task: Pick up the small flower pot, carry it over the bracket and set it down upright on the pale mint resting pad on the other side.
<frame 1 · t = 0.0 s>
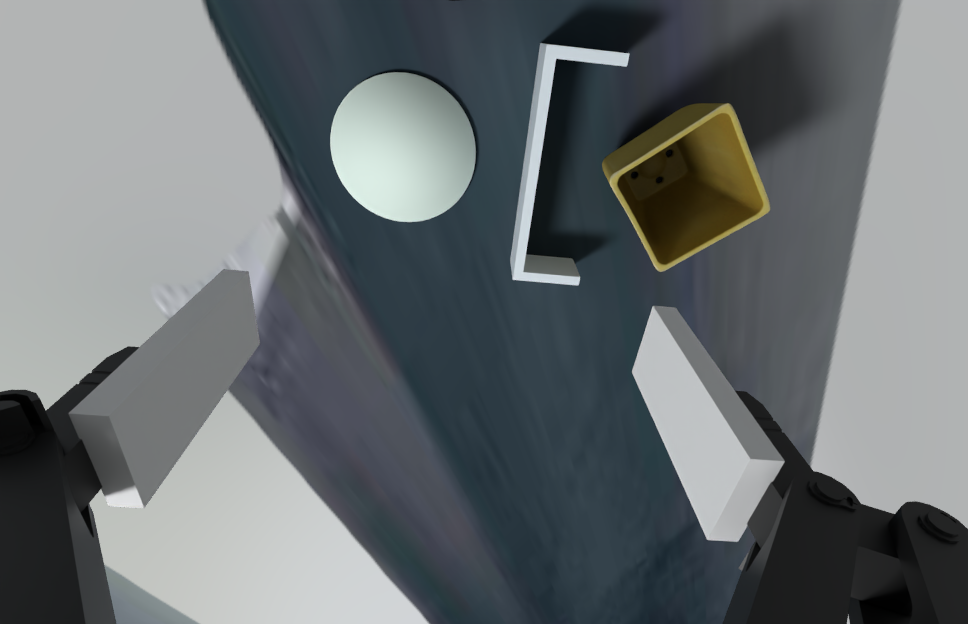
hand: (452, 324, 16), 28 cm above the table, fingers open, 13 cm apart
pad: (404, 152, 40), on the table
flower pot: (651, 163, 41), on the table
bracket: (528, 164, 41), on the table
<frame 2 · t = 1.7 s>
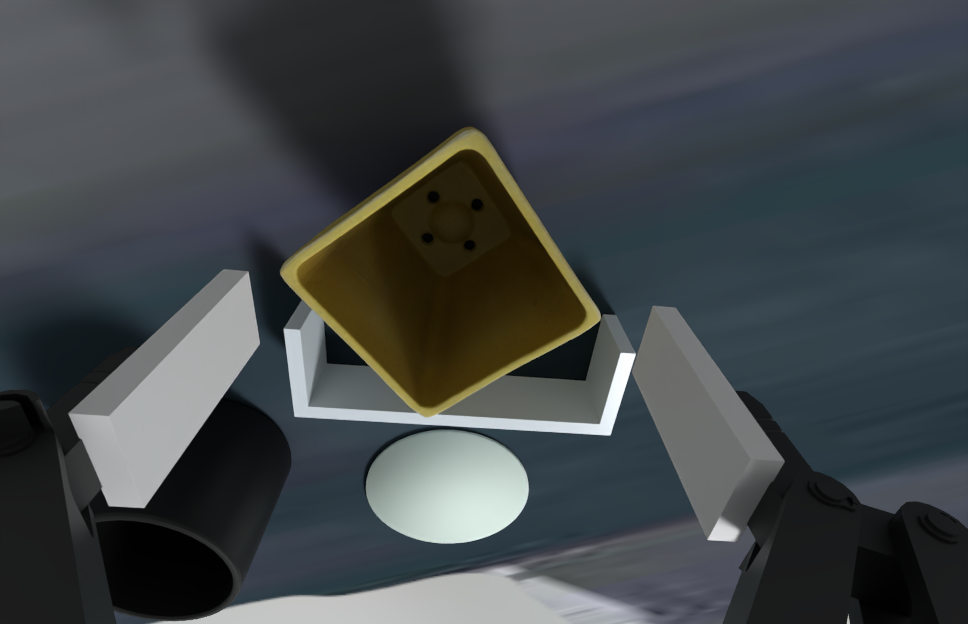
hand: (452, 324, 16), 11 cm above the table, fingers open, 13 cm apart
mug: (206, 444, 33), on the table
pad: (447, 489, 36), on the table
flower pot: (454, 216, 26), on the table
bracket: (458, 377, 31), on the table
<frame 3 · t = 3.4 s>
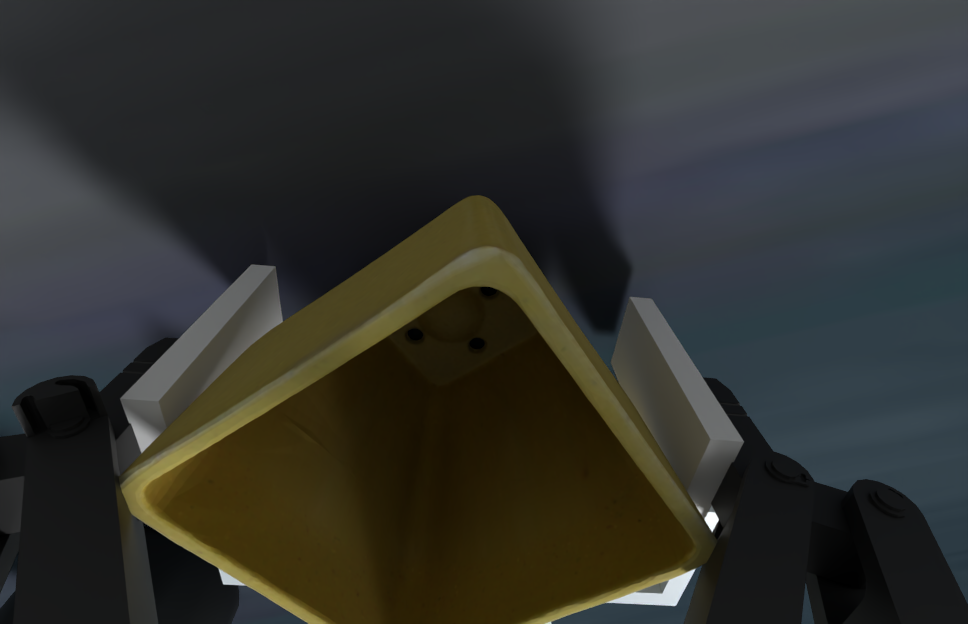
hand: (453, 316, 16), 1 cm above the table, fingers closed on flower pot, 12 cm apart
mug: (127, 575, 25), on the table
flower pot: (454, 302, 17), on the table, touching gripper
bracket: (459, 503, 22), on the table
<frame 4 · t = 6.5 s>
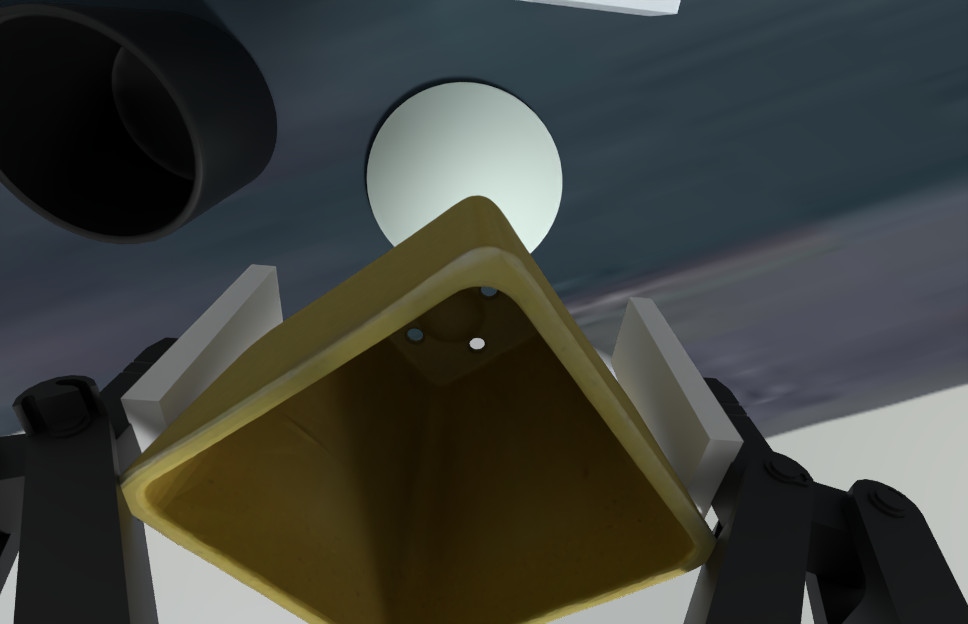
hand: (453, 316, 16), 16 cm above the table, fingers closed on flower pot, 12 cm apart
mug: (174, 106, 28), on the table
pad: (465, 188, 30), on the table
flower pot: (454, 302, 17), point 15 cm above the table, touching gripper
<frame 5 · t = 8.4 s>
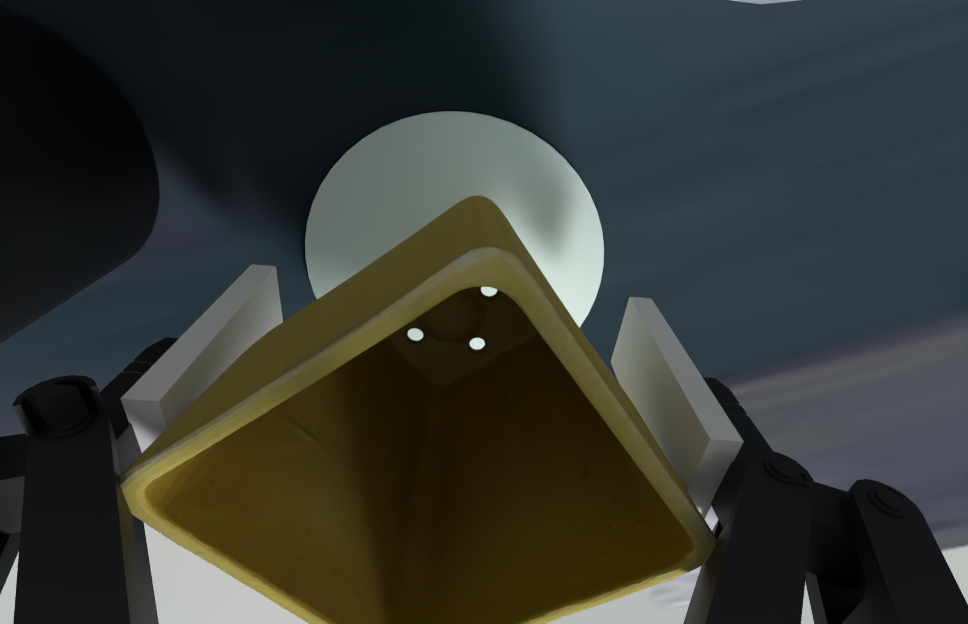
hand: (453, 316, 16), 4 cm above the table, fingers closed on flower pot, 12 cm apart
pad: (455, 267, 20), on the table
flower pot: (454, 302, 17), point 3 cm above the table, touching gripper
when the fingers open (2 cm above the table, at t = 9.8 s): flower pot drops 1 cm, resting on pad.
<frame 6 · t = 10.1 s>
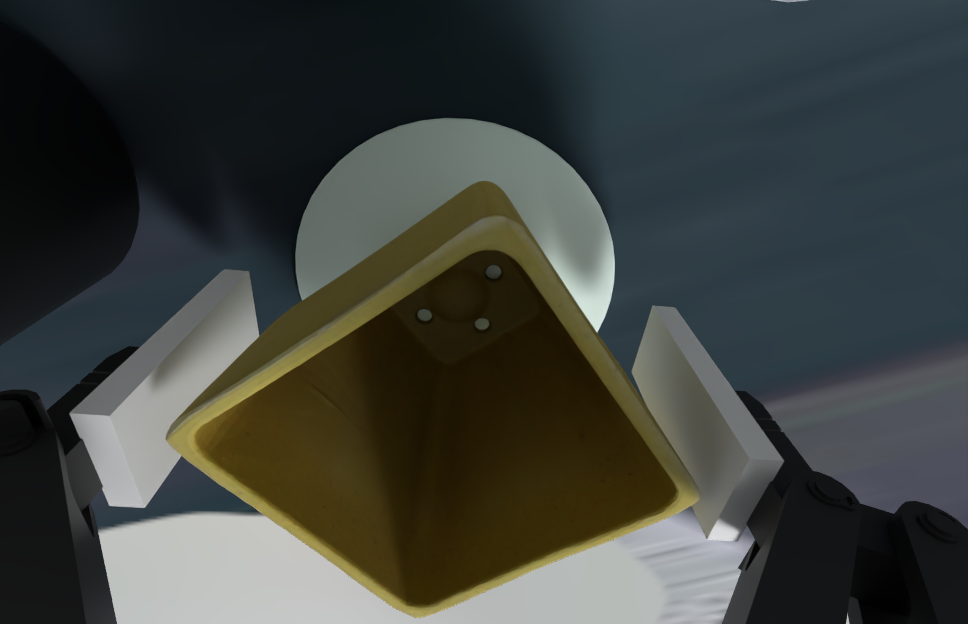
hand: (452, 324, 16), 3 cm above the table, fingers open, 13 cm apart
pad: (456, 283, 19), on the table
flower pot: (461, 285, 19), resting on pad
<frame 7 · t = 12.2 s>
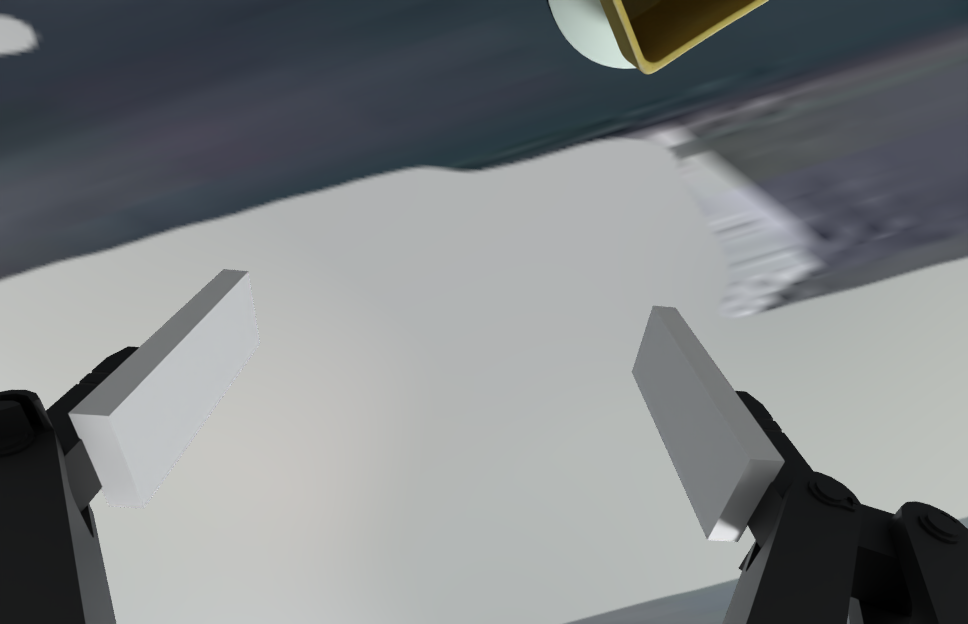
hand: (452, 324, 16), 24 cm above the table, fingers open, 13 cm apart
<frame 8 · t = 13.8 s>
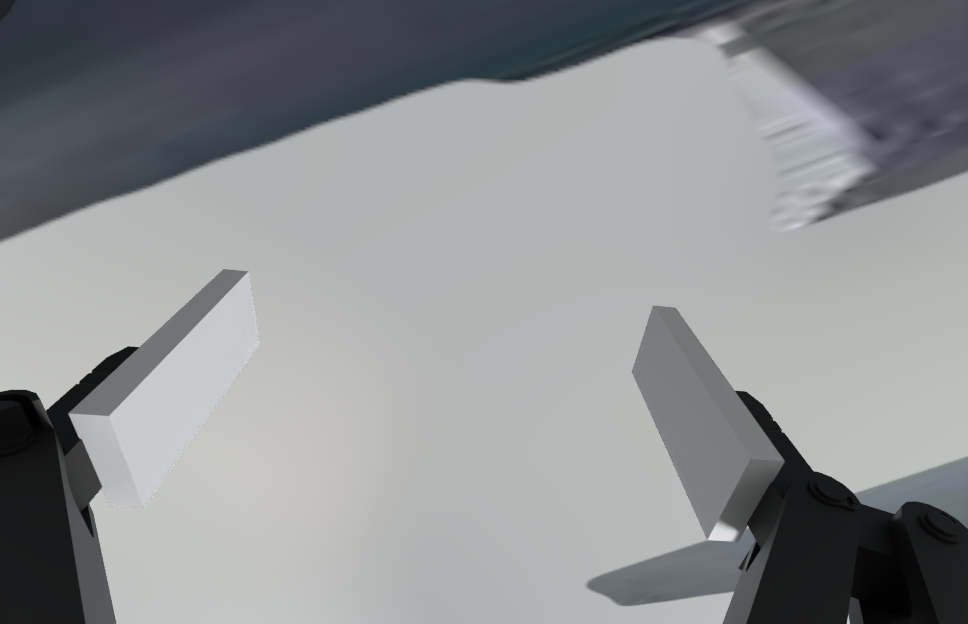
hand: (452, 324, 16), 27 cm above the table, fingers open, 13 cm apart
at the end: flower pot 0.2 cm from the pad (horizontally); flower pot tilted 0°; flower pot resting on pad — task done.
